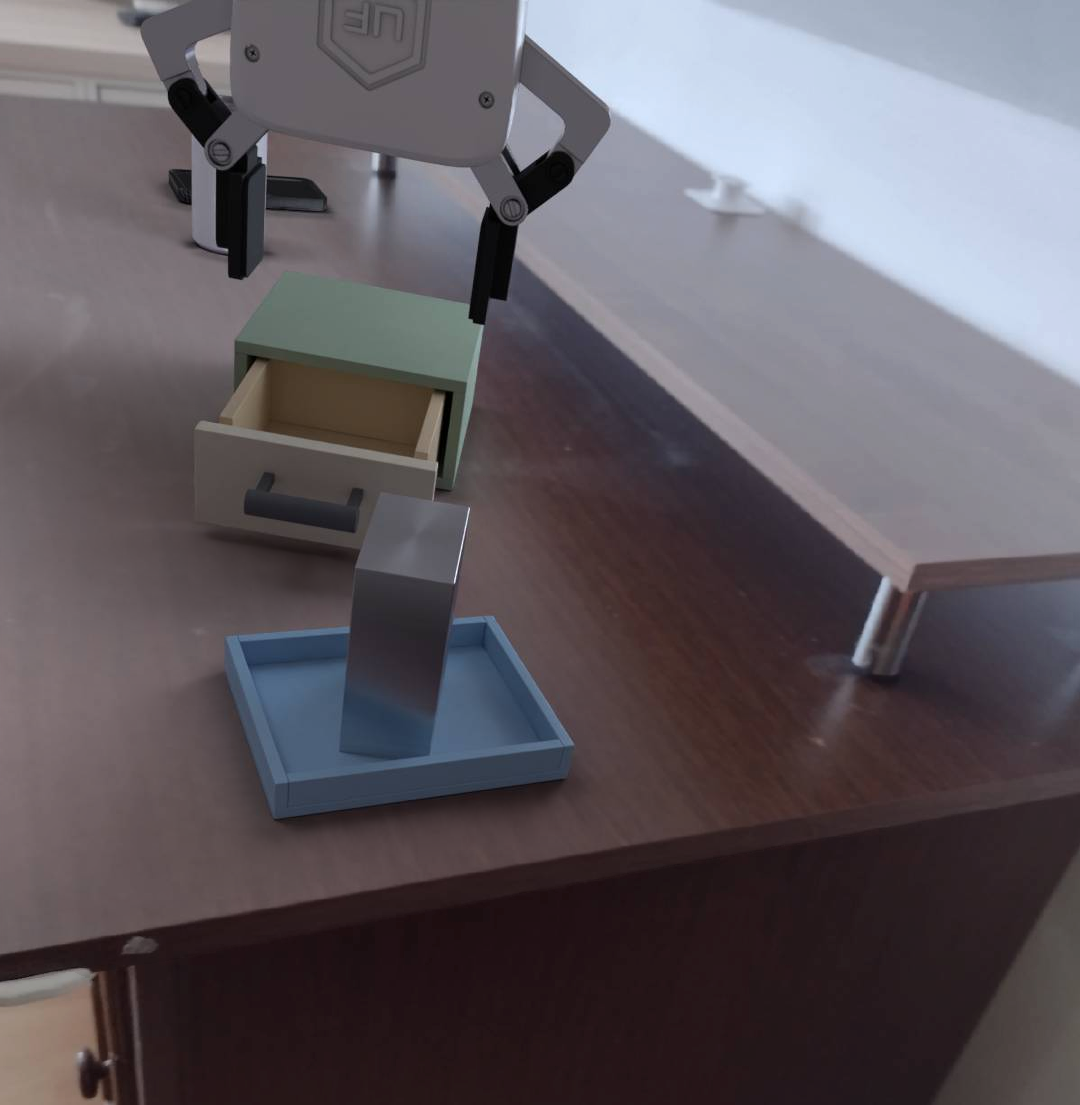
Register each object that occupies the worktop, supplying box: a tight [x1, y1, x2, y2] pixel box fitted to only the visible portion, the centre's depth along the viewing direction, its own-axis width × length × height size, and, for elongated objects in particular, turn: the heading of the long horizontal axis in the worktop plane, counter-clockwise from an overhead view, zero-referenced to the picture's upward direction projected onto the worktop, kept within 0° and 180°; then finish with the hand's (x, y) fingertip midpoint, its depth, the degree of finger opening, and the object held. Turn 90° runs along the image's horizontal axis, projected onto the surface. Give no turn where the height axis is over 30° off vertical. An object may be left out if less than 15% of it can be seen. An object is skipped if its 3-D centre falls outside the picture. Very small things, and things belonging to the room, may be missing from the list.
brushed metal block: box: [339, 492, 471, 760], centre depth 55 cm, size 4×7×10 cm, turn 177°
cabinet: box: [233, 269, 485, 492], centre depth 82 cm, size 15×15×8 cm
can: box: [191, 94, 268, 256], centre depth 107 cm, size 6×6×12 cm
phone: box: [168, 168, 328, 212], centre depth 123 cm, size 8×1×15 cm
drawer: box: [193, 356, 447, 551], centre depth 71 cm, size 17×13×6 cm
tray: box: [224, 615, 575, 820], centre depth 58 cm, size 14×11×2 cm
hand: (363, 291), depth 49 cm, fingers open, 9 cm apart
